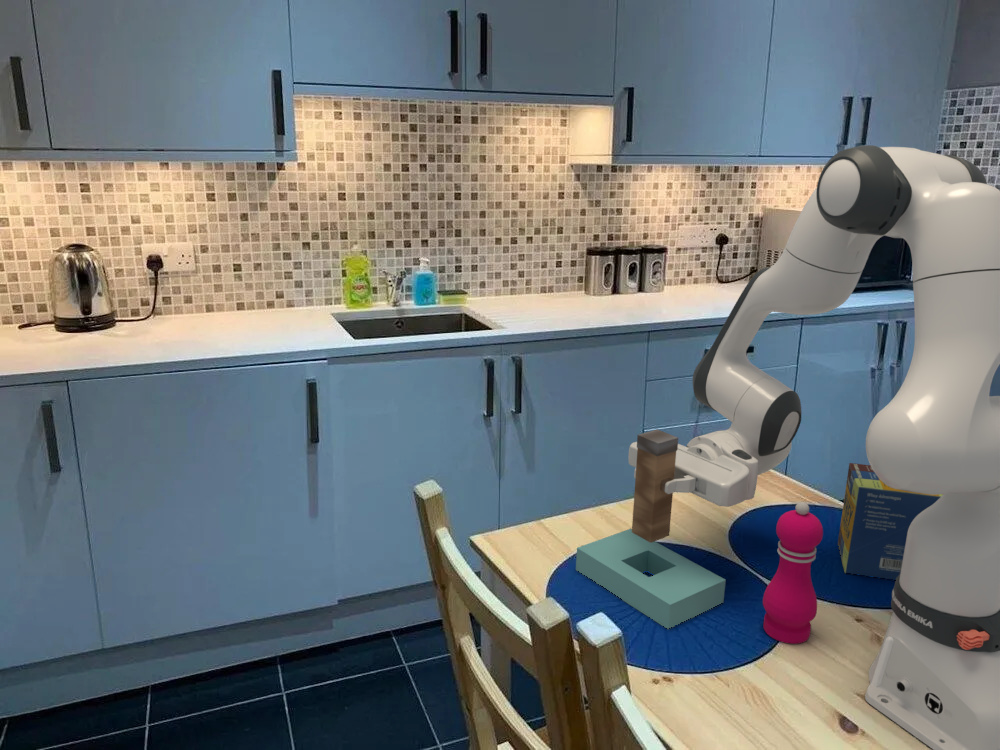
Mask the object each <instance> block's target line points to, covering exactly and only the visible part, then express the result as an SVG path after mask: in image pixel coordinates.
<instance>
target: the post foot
mask: <svg viewBox="0 0 1000 750" xmlns="http://www.w3.org/2000/svg"><path fill="white" fill-rule="evenodd" d="M575 557H576V559H575V571H576V572H578V571H579V572H578V573H580V574H581V573H582V574H581V575H582V576H584V575H585V576H584V577H586V576H587V577H588V579H589V578H590V579H592V580H593V581H592V580H591V581H592V582H594V581H595V582H596V583H595V582H594V583H595V584H597V585H598V584H599V585H598V586H600V585H601V586H603V587H604V588H606V589H607V590H609V591H610V592H609V591H608V592H609V593H611V592H612V593H613V594H612V593H611V594H612V595H614V594H615V595H616V596H615V595H614V596H615V597H617V596H618V597H619V598H618V597H617V598H618V599H620V598H621V599H622V600H621V599H620V600H621V601H623V602H624V603H626V604H628V605H629V606H631V607H633V609H635V610H637V611H638V612H640V613H642V614H644V615H645V616H646V617H648V618H649V617H650V619H651V620H652V619H653V620H652V621H654V622H655V623H657V624H659V625H660V626H662V627H663V626H664V627H663V628H665V629H666V628H667V629H666V630H670V629H672V628H675V627H676V626H675V625H677V626H678V624H679V625H680V623H681V622H683V623H685V622H687V621H689V620H691V619H693V618H696V617H697V615H698V616H700V615H702V614H704V613H706V612H708V611H710V610H712V609H714V608H713V607H715V606H717V605H719V604H721V603H723V604H724V601H725V600H724V599H725V592H726V591H725V590H726V581H727V580H726V579H725V578H723V577H722V576H719V575H718V574H716V573H714V572H712V571H711V570H709V569H706V568H705V567H703V566H701V565H699V564H698V563H695V562H694V561H692V560H690V559H688V558H686V557H684V556H683V555H680V554H679V553H677V552H675V551H673V550H672V549H669V548H668V547H666V546H664V545H662V544H661V543H658V542H656V541H654V542H651V543H650V542H648V541H647V540H645V539H643V538H641V537H639V536H638V535H636V534H634V533H632V528H628V529H625V530H623V531H619V532H617V533H614V534H612V535H610V536H606V537H602V538H600V539H598V540H595V541H593V542H590V543H586V544H583V545H581V546H578V547H576V556H575ZM644 571H649V572H650V573H652V574H654V575H653V576H652V575H651V576H648V575H646V574H645V573H644V574H643V572H644ZM587 577H586V578H587ZM590 579H589V580H590ZM601 586H600V587H601ZM603 587H602V588H603ZM604 588H603V589H604ZM606 589H605V590H606ZM607 590H606V591H607ZM721 605H722V604H721ZM719 606H720V605H719ZM717 607H718V606H717ZM711 608H712V609H711ZM715 608H716V607H715ZM709 609H710V610H709ZM707 610H708V611H707ZM705 611H706V612H705ZM703 612H704V613H703ZM701 613H702V614H701ZM699 614H700V615H699ZM695 616H696V617H695ZM690 618H691V619H690ZM688 619H689V620H688ZM686 620H687V621H686ZM684 621H685V622H684ZM681 624H682V623H681ZM671 627H672V628H671ZM669 628H670V629H669Z"/></svg>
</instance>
